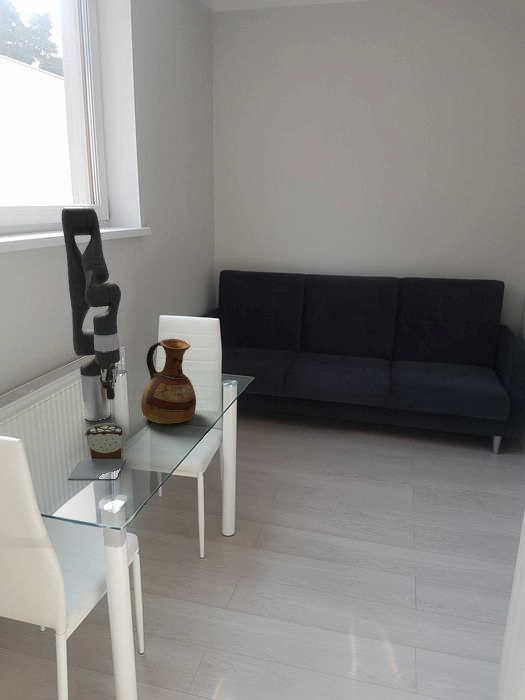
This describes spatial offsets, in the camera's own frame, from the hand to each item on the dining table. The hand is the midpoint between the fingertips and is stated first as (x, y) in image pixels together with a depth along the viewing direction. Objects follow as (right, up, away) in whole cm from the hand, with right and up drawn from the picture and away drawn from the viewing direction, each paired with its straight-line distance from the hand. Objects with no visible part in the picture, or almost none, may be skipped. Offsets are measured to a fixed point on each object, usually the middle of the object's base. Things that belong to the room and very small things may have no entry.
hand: (111, 398), depth 169 cm
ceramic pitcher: (+14, -10, +25) cm, 31 cm away
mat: (-1, -20, -11) cm, 23 cm away
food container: (0, -18, -2) cm, 18 cm away
